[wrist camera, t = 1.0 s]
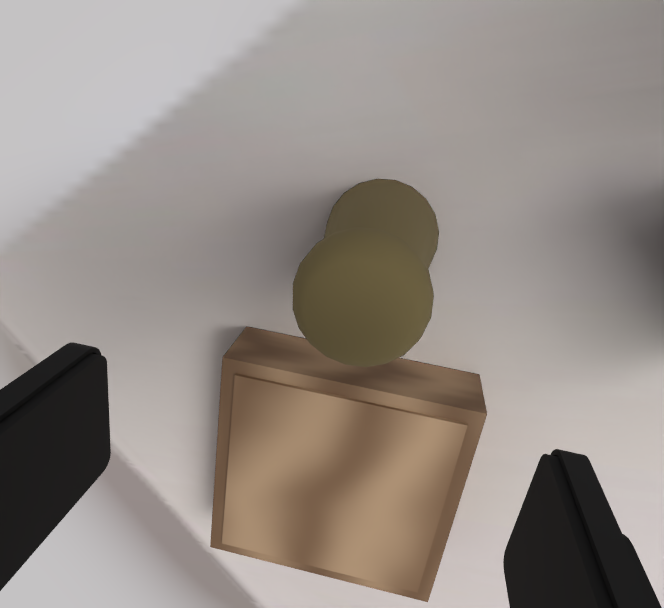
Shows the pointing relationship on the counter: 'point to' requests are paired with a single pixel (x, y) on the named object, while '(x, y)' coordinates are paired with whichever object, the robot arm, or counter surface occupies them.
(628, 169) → the counter surface
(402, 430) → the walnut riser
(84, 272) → the counter surface
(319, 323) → the olive tapered piece
